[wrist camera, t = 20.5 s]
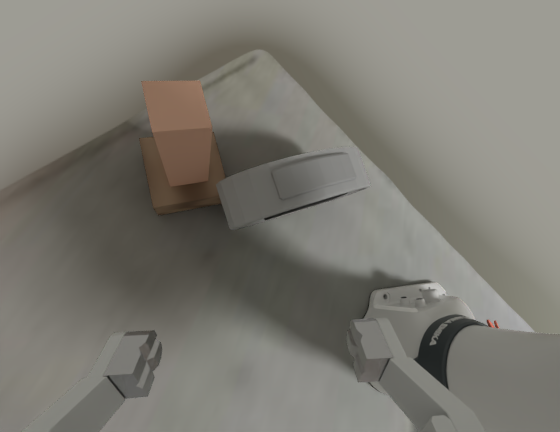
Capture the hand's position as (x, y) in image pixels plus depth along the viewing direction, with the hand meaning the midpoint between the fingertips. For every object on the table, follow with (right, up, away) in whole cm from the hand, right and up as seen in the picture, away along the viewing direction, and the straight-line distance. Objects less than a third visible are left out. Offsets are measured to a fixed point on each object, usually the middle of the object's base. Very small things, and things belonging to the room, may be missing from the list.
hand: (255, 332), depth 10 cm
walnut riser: (-13, +11, +27) cm, 32 cm away
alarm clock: (+2, +8, +31) cm, 32 cm away
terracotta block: (-12, +12, +23) cm, 29 cm away
